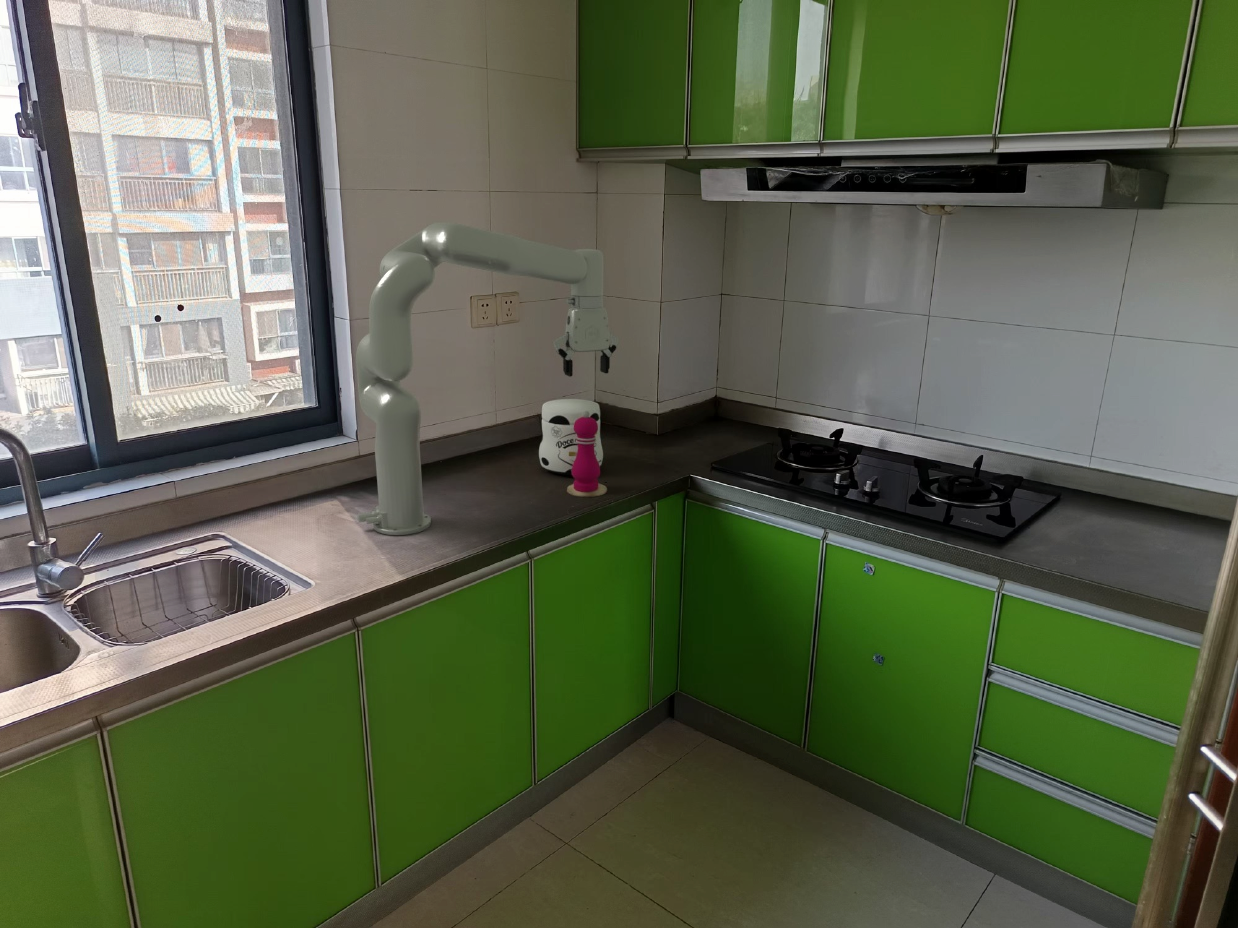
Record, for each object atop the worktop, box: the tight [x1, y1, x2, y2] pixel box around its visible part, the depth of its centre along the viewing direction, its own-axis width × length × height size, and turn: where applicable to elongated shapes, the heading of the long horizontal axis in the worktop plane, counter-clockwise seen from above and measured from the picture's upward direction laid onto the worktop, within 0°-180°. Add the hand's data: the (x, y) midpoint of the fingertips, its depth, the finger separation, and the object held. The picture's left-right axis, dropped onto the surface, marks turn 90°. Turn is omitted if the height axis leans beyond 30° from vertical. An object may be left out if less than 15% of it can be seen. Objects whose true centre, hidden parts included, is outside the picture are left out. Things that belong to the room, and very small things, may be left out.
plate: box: [566, 482, 608, 498], centre depth 224 cm, size 10×10×1 cm
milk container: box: [538, 398, 604, 476], centre depth 239 cm, size 17×17×18 cm
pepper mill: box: [571, 411, 601, 492], centre depth 221 cm, size 7×7×20 cm
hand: (586, 374), depth 215 cm, fingers open, 9 cm apart
